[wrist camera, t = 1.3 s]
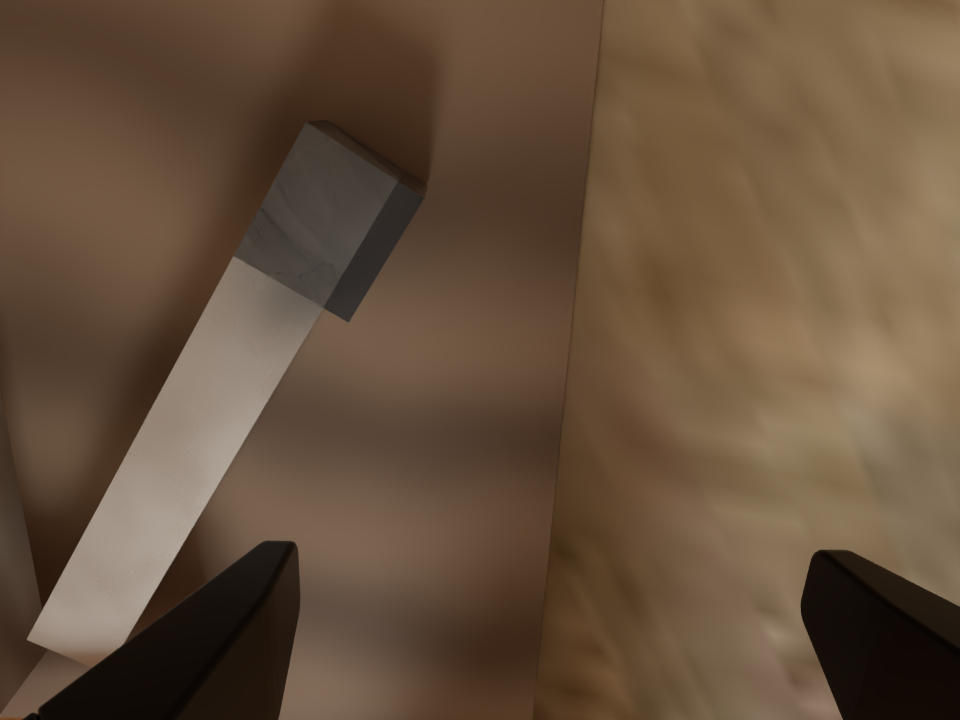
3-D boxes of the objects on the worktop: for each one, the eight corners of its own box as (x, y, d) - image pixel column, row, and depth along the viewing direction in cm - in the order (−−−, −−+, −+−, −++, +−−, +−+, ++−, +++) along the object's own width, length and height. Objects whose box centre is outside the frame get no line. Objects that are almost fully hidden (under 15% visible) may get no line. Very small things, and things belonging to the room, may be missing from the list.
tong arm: (166, 617, 20) (128, 683, 17) (76, 576, 19) (26, 639, 17) (428, 185, 16) (424, 198, 14) (326, 119, 15) (306, 121, 13)
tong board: (523, 751, 23) (535, 853, 20) (-172, 749, 22) (-276, 857, 19) (613, -189, 15) (658, -272, 11) (-524, -278, 13) (-828, -399, 10)
